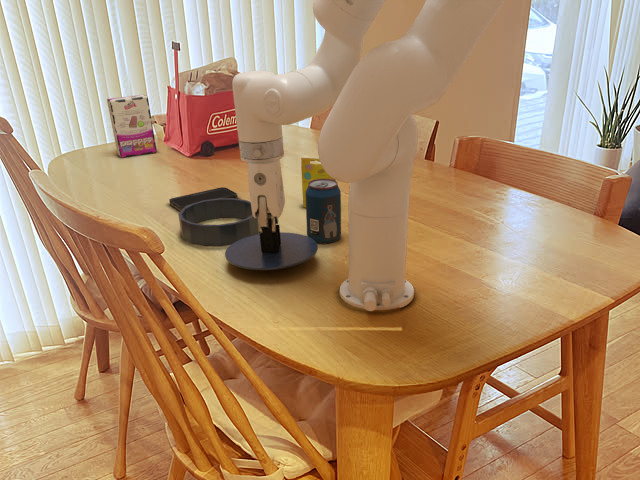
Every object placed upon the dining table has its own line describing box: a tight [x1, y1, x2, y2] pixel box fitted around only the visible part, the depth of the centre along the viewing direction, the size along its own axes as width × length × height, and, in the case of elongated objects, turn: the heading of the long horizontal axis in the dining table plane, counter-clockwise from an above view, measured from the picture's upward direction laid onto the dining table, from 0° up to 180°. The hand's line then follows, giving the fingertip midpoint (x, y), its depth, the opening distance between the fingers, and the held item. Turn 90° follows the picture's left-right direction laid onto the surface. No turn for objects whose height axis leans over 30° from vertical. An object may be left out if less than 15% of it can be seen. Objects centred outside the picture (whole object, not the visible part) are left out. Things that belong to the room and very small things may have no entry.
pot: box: [177, 198, 260, 247], centre depth 132 cm, size 16×16×5 cm
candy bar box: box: [106, 94, 158, 159], centre depth 187 cm, size 11×5×16 cm, turn 119°
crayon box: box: [300, 157, 337, 209], centre depth 143 cm, size 7×3×12 cm, turn 70°
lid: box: [224, 221, 319, 271], centre depth 115 cm, size 17×17×6 cm
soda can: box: [305, 179, 342, 245], centre depth 126 cm, size 7×7×12 cm
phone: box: [169, 186, 239, 212], centre depth 151 cm, size 8×1×15 cm
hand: (271, 248), depth 116 cm, fingers closed on lid, 2 cm apart
